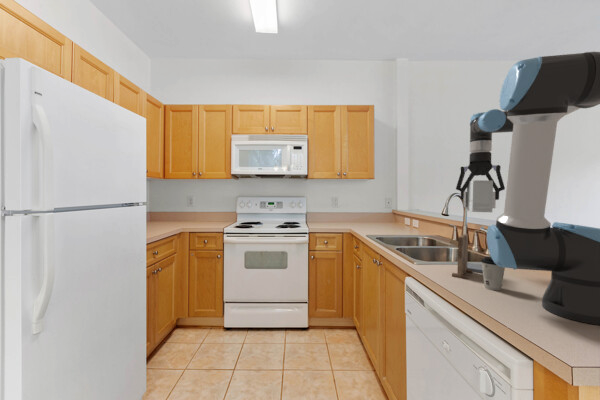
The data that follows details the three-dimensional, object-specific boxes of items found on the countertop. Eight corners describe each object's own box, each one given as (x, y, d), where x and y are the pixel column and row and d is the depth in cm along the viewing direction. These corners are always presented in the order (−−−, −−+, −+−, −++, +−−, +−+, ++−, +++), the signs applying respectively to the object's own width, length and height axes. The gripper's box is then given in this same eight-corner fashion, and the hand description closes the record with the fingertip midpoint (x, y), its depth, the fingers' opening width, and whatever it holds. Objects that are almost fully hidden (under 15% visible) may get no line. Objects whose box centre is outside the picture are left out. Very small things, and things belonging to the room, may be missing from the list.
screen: (466, 279, 106) (467, 238, 105) (451, 276, 109) (452, 236, 109) (472, 272, 115) (473, 234, 115) (458, 270, 118) (459, 233, 118)
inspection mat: (492, 274, 112) (492, 271, 112) (463, 270, 118) (463, 267, 118) (495, 269, 119) (495, 266, 119) (467, 265, 126) (467, 262, 126)
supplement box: (492, 212, 114) (493, 180, 113) (472, 212, 115) (472, 180, 115) (485, 211, 121) (486, 181, 120) (465, 211, 122) (466, 181, 122)
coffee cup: (485, 290, 93) (485, 259, 93) (477, 284, 100) (477, 255, 100) (509, 292, 92) (510, 261, 91) (499, 285, 98) (500, 256, 98)
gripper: (514, 151, 113) (513, 208, 114) (452, 155, 127) (451, 206, 128) (513, 148, 108) (512, 209, 108) (448, 153, 121) (447, 207, 122)
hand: (479, 207), depth 118 cm, fingers closed on supplement box, 9 cm apart
